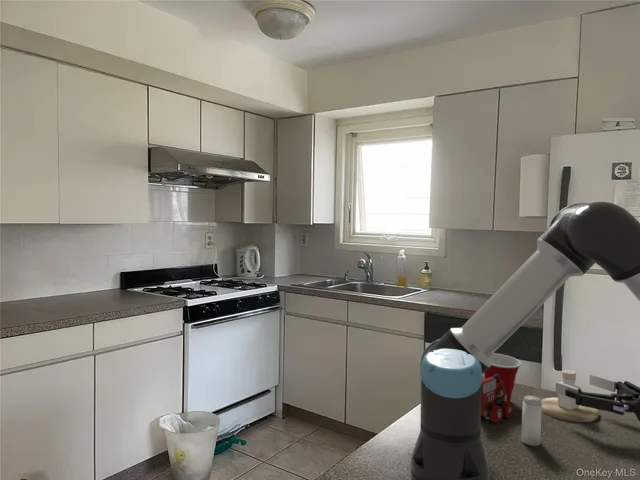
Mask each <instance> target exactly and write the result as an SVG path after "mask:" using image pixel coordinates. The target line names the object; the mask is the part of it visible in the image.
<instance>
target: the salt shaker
mask: <svg viewBox="0 0 640 480" xmlns="http://www.w3.org/2000/svg"><path fill="white" fill-rule="evenodd" d="M541 400H542V398H540V397H538V396H534V395H525V396H523V400H522V411H521V412H522V414H521V430H520V432H521V434H520V435H521V436H520V439H521V441H520V442H522V443H523V444H525V445H528V446H530V447H531V446H532V447H537V446H540V445H541V436H542V435H541V432H542V415H543V414H542V413H543V412H542V403H541Z"/></svg>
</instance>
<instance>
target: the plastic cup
mask: <svg viewBox="0 0 640 480" xmlns="http://www.w3.org/2000/svg"><path fill="white" fill-rule="evenodd" d="M521 366H522V362H521V360H519V359H517V358H516V357H513V356H511V355H506V354H502V353H495V352H494V353H493V354H492V355H491V366H490V367H489V368H488V369H487V370H486V371H485V372H484V373H483V374H484V375H483V377H484V379H486V378H489V377H493V375H494V374H498V375H500V377H501V380H502V381H503V382H504V386H505V389H506V392H507V401H509V402H511V399H512V394H513V390H514V386H515V383H516V382H515V381H516V378H517V377H516V376H517V373H518V370H519V368H520V367H521Z"/></svg>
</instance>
